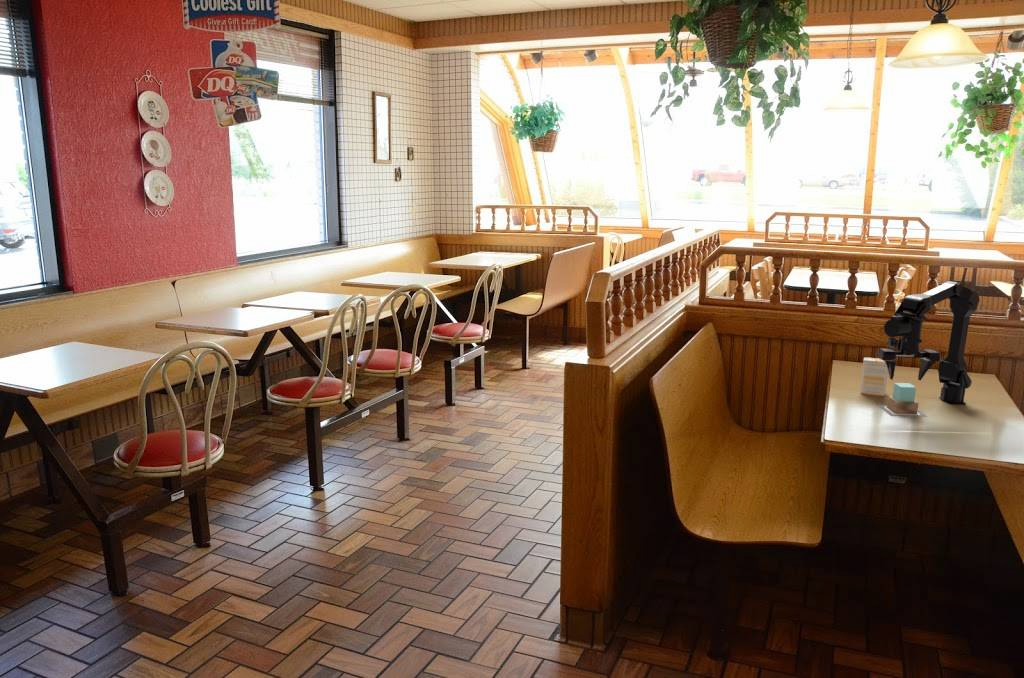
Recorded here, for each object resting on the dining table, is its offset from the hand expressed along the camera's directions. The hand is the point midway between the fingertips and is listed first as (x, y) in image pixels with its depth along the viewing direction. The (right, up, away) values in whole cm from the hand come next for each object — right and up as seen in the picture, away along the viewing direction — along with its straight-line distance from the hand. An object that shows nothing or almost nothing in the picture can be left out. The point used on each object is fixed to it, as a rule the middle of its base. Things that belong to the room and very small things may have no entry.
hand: (905, 379), depth 266 cm
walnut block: (0, -11, +3) cm, 11 cm away
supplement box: (-1, -7, +22) cm, 23 cm away
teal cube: (0, -7, +2) cm, 7 cm away
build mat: (0, -11, +3) cm, 11 cm away
